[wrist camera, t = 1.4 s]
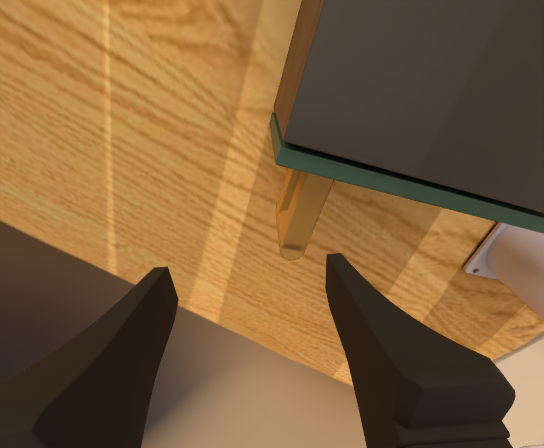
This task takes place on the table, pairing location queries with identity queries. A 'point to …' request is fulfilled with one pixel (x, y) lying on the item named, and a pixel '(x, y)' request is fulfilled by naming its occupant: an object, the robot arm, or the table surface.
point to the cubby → (423, 90)
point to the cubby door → (326, 168)
